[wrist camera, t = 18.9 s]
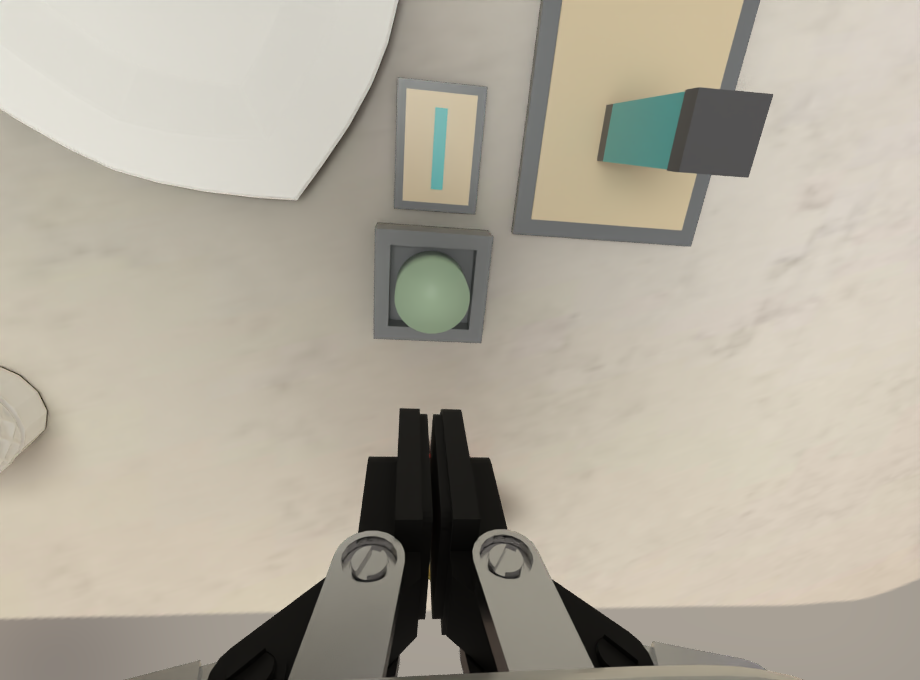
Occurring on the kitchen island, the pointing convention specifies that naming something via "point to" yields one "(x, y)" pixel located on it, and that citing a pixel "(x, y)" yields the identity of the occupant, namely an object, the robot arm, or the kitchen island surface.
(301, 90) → the plate
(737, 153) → the marker
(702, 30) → the board
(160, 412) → the kitchen island surface
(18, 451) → the white cup
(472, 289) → the button base
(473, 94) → the card
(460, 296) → the button
